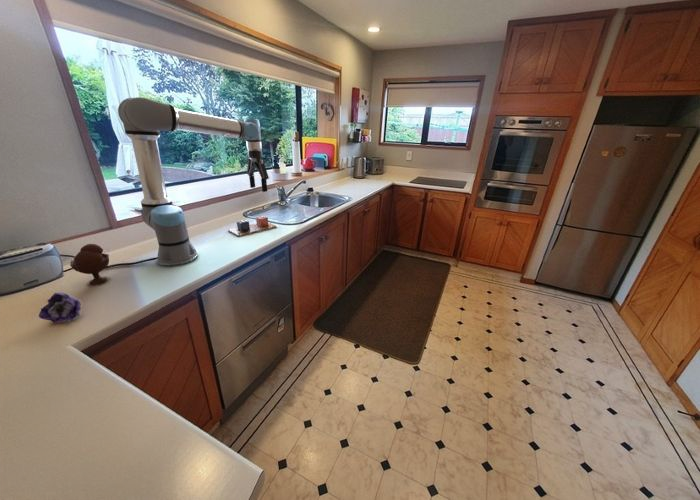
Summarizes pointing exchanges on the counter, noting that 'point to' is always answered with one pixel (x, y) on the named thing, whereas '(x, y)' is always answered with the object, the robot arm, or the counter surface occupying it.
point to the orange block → (262, 221)
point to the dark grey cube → (243, 225)
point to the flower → (61, 308)
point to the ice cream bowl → (91, 262)
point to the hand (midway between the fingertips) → (258, 189)
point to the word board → (251, 229)
